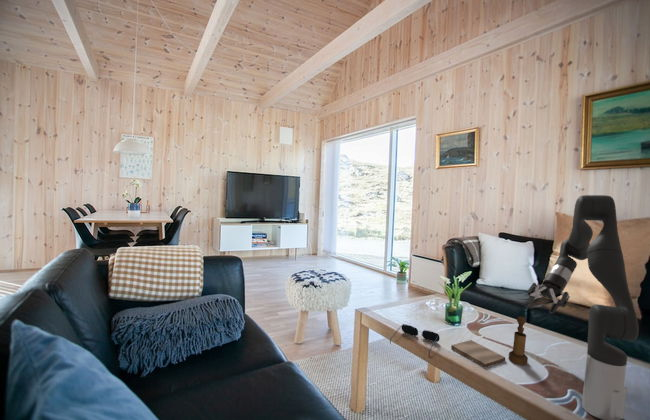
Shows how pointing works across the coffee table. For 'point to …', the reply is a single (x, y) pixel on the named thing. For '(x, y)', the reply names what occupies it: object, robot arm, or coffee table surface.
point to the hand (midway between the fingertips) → (539, 308)
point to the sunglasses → (425, 334)
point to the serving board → (478, 353)
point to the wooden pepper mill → (519, 344)
